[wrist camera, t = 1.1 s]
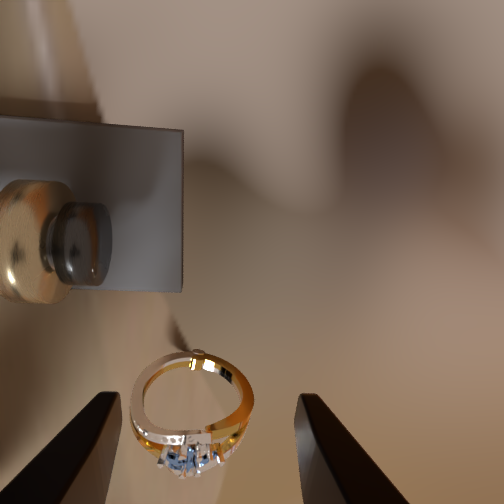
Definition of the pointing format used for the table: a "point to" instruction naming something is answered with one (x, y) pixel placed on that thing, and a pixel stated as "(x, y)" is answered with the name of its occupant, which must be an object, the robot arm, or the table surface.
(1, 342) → the table surface
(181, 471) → the ring
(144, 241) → the block
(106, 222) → the shaft
